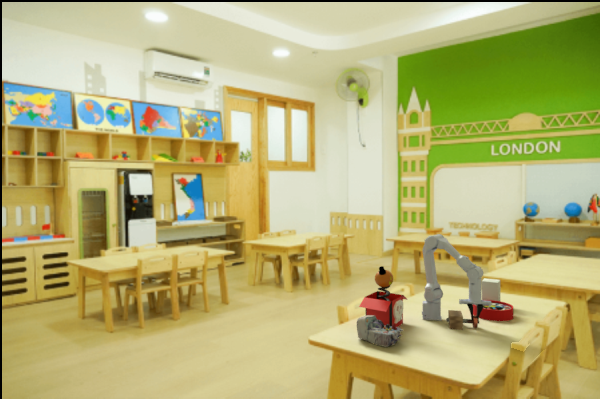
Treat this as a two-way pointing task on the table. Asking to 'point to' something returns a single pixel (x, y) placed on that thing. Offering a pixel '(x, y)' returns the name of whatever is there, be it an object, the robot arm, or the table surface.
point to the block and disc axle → (470, 321)
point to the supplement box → (491, 289)
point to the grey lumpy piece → (377, 331)
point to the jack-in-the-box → (384, 301)
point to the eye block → (455, 319)
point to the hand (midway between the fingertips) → (474, 319)
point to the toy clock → (495, 311)
